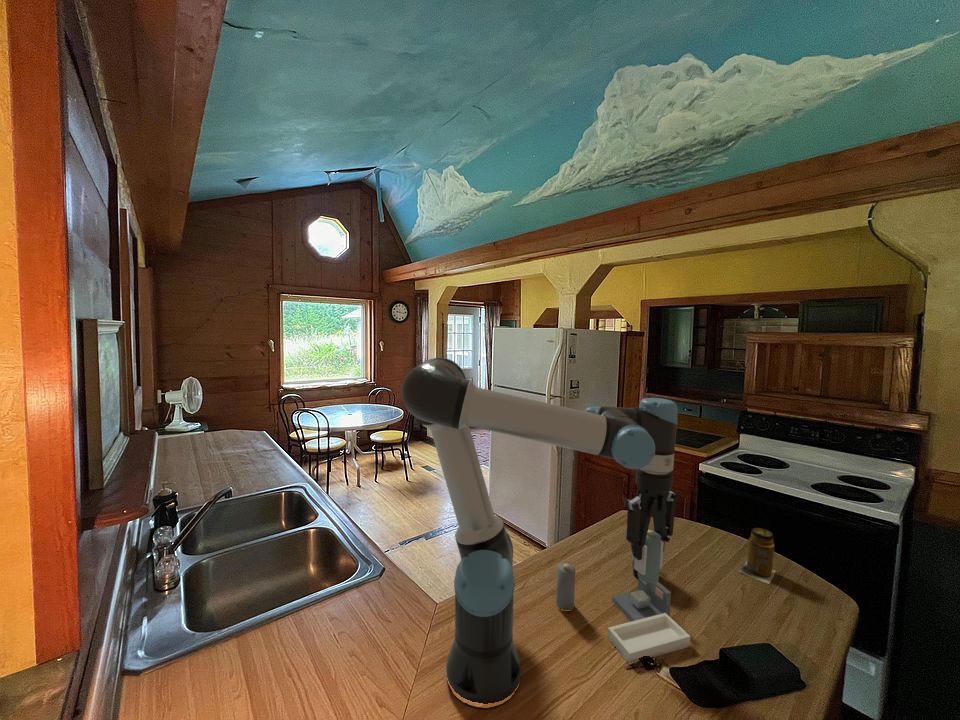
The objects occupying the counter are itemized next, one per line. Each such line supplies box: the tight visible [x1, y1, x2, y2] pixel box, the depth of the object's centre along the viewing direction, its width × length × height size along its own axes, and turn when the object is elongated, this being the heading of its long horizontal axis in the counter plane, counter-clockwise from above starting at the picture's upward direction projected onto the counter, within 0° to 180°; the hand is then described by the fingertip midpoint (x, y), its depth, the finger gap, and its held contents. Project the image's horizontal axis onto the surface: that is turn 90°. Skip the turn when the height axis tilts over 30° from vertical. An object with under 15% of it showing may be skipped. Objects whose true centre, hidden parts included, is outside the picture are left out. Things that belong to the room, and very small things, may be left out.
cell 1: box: [555, 562, 576, 611], centre depth 104 cm, size 4×4×11 cm
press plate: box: [630, 590, 651, 609], centre depth 102 cm, size 4×3×2 cm
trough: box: [607, 613, 691, 664], centre depth 92 cm, size 16×8×2 cm, turn 108°
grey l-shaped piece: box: [611, 577, 672, 622], centre depth 102 cm, size 9×10×7 cm
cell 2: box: [638, 529, 661, 583], centre depth 93 cm, size 4×4×11 cm
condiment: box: [738, 527, 777, 585], centre depth 118 cm, size 7×8×12 cm
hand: (647, 568), depth 93 cm, fingers closed on cell 2, 4 cm apart
